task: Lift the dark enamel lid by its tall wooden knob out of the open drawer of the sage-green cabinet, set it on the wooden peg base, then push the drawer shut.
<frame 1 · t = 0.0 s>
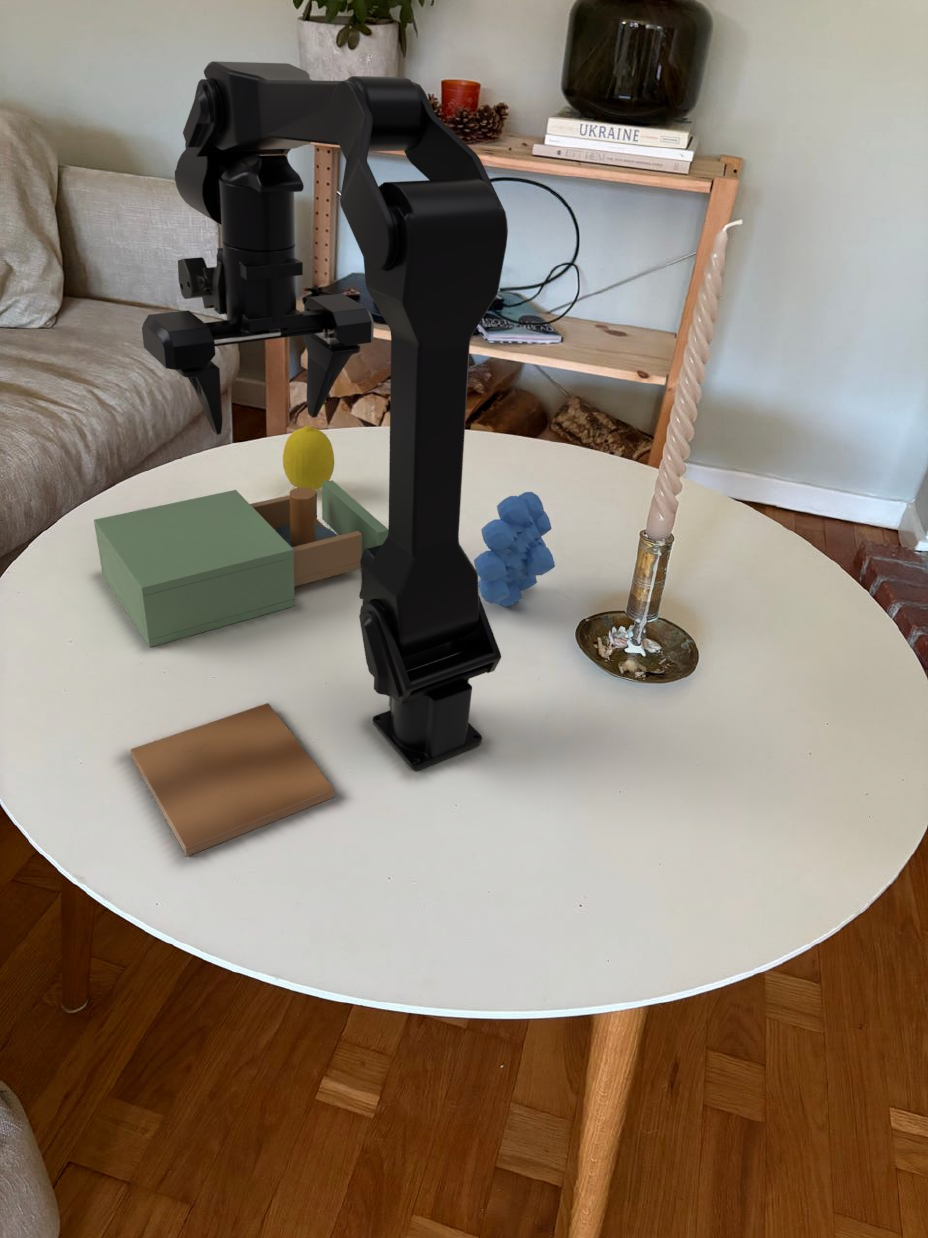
hand: (265, 424, 85), 15 cm above the table, tool pointing down, fingers open, 9 cm apart
drawer: (308, 535, 93), point 3 cm above the table, slide at 9.0 cm, touching pot lid
pot lid: (303, 546, 93), point 2 cm above the table, touching drawer
cabinet: (198, 591, 89), on the table
lemon: (309, 494, 107), on the table
wooden peg base: (231, 777, 70), on the table
grapes: (514, 609, 91), on the table
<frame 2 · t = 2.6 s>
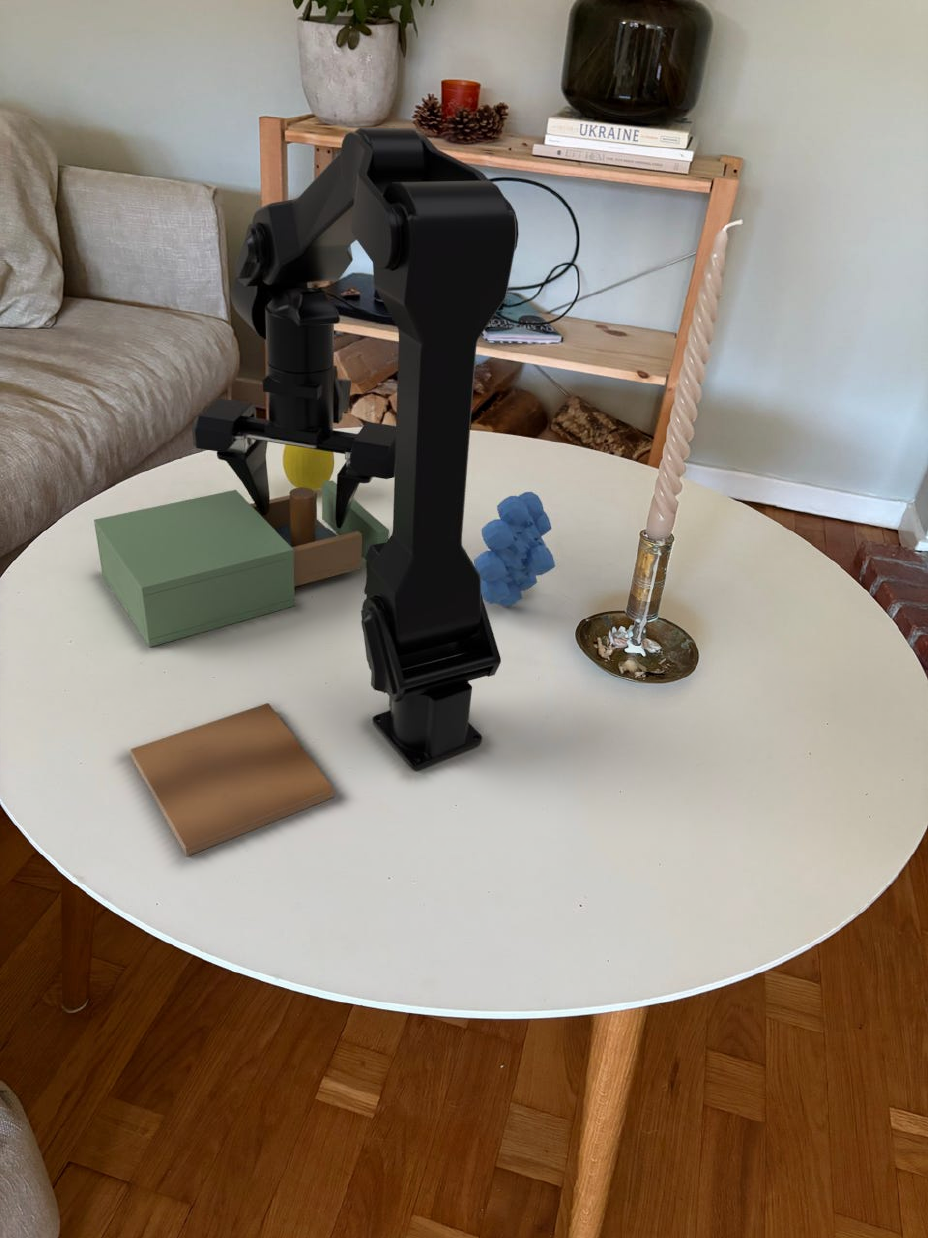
hand: (302, 519, 92), 5 cm above the table, tool pointing down, fingers open, 7 cm apart
nothing on the table moved.
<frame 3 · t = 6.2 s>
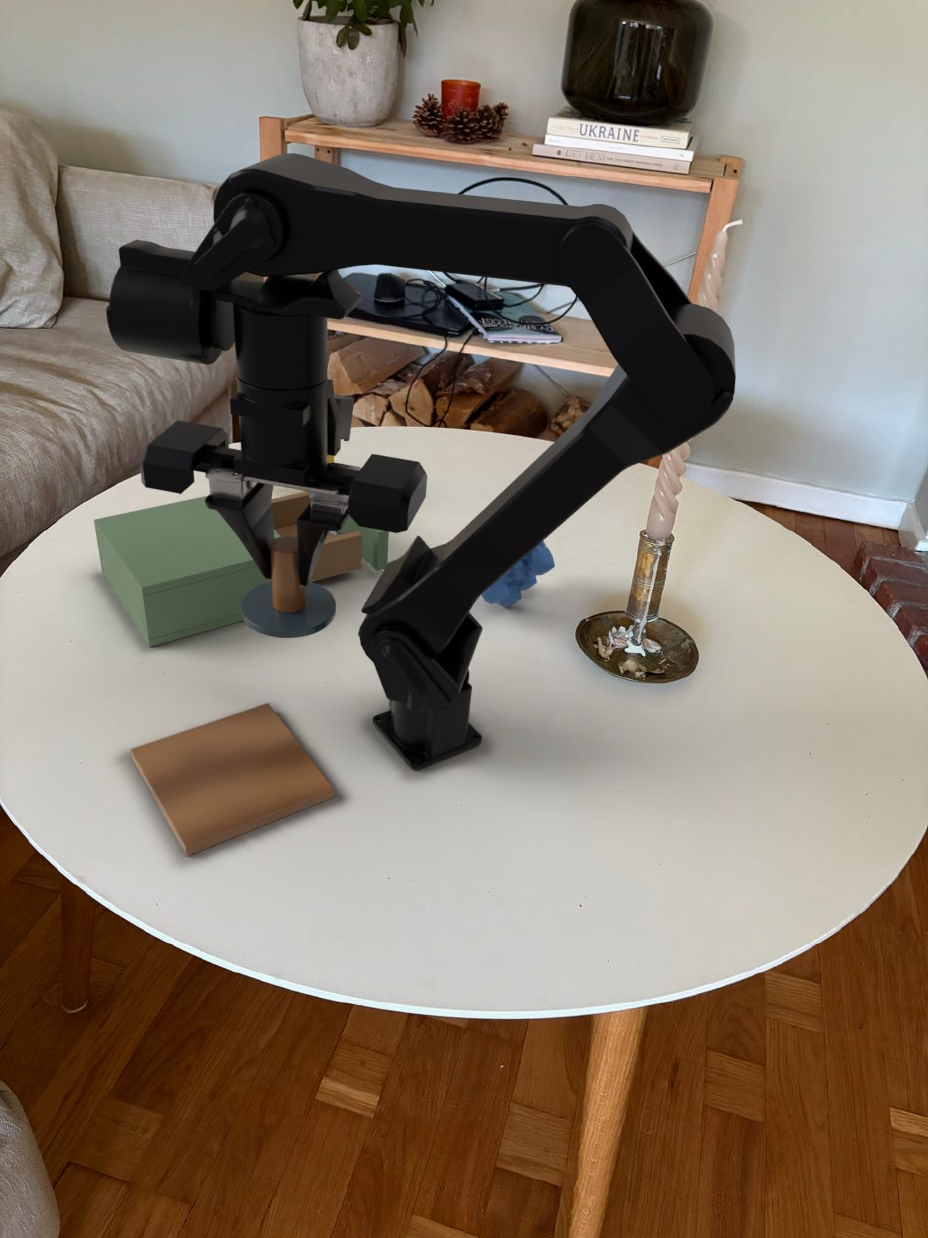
hand: (288, 579, 70), 12 cm above the table, tool pointing down, fingers closed on pot lid, 2 cm apart
drawer: (308, 535, 93), point 3 cm above the table, slide at 9.0 cm
pot lid: (288, 610, 72), point 9 cm above the table, touching gripper
everything else where it was.
when the fingers open (4 cm above the table, at t = 9.2 s): pot lid stays where it is, resting on wooden peg base.
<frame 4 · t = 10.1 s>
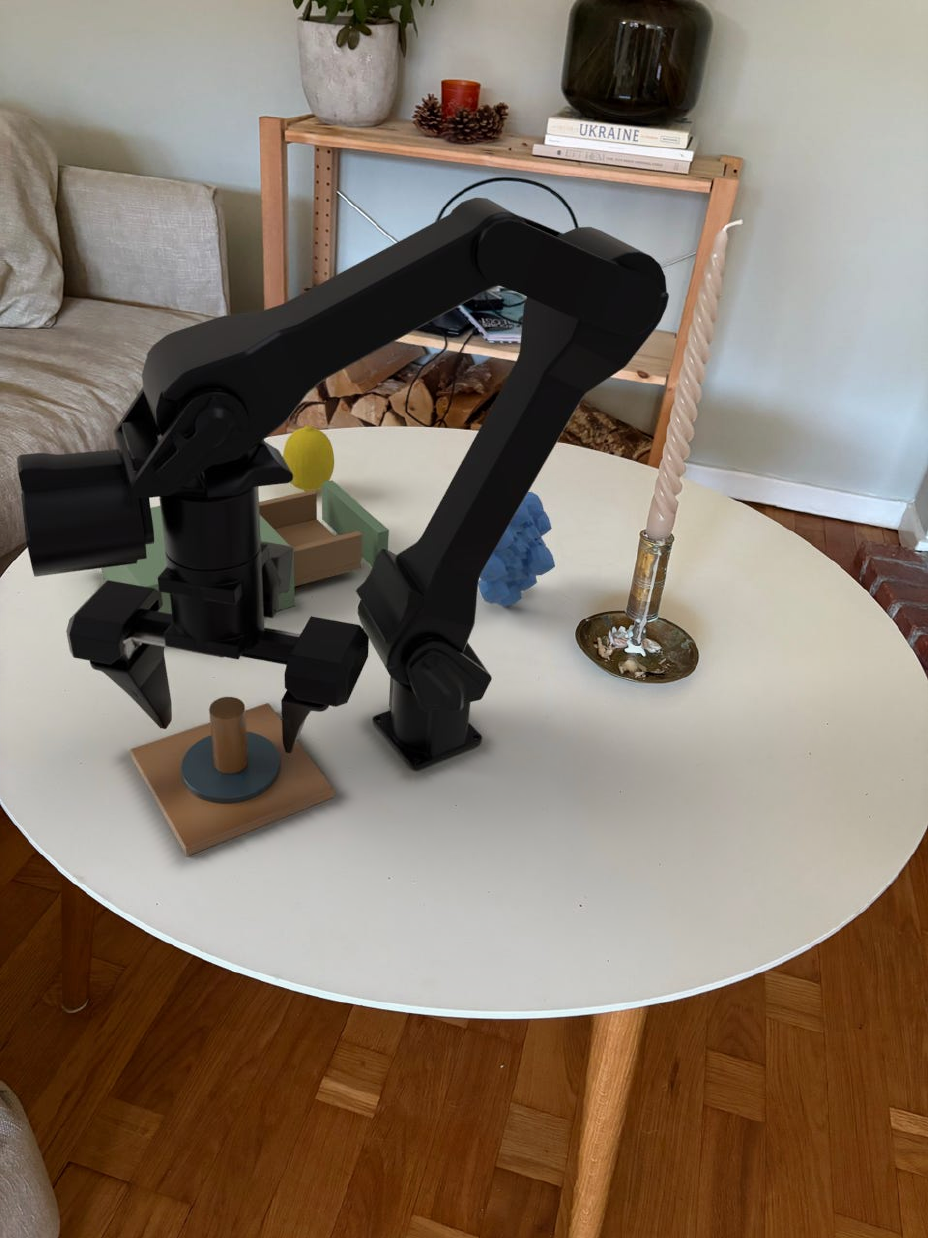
hand: (228, 736, 68), 4 cm above the table, tool pointing down, fingers open, 9 cm apart
pot lid: (231, 768, 69), point 1 cm above the table, touching wooden peg base
everything else where it was.
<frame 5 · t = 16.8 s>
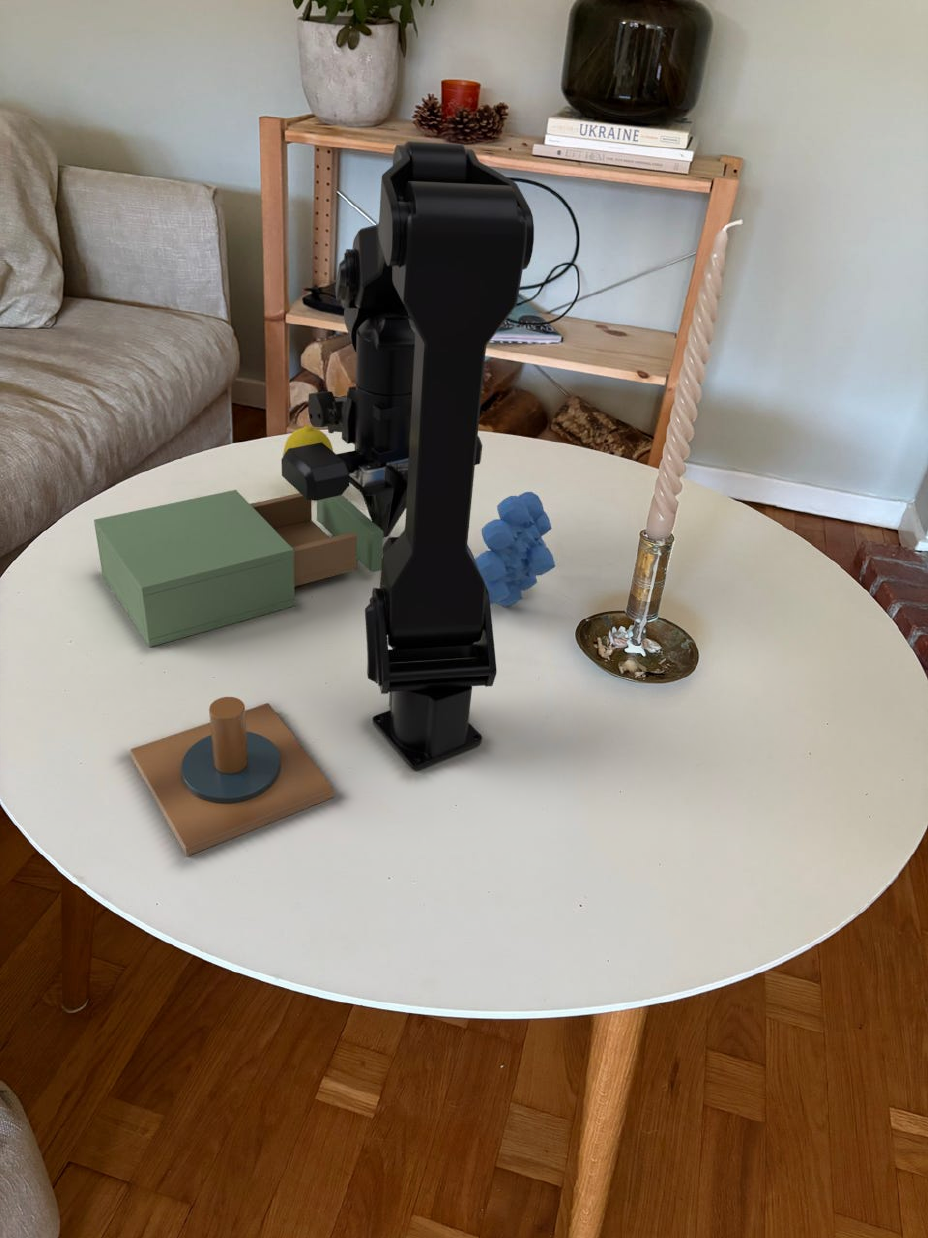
hand: (382, 535, 94), 3 cm above the table, tool pointing down, fingers closed
drawer: (302, 536, 93), point 3 cm above the table, slide at 8.4 cm, touching gripper
everything else where it was.
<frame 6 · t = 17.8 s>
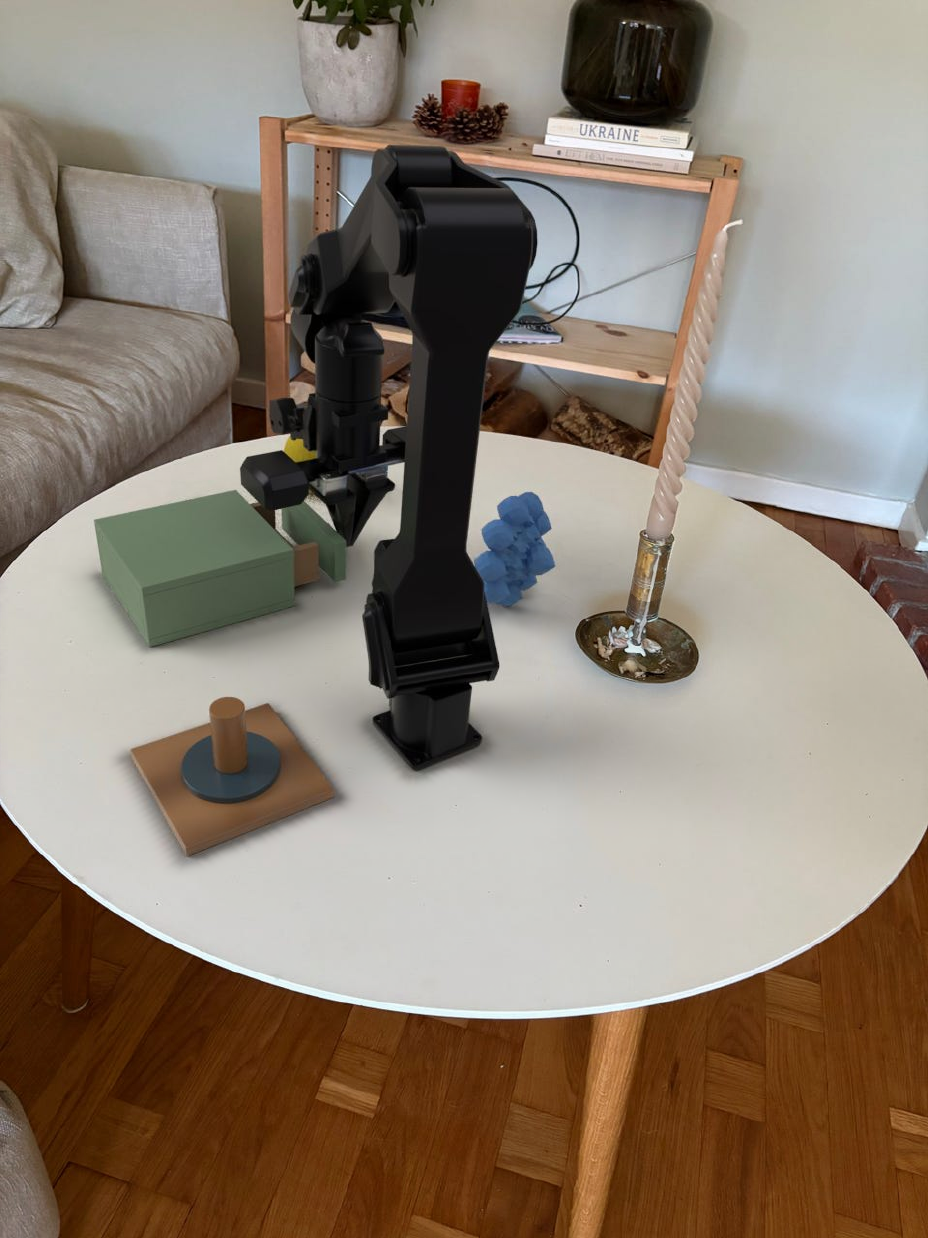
hand: (346, 544, 92), 3 cm above the table, tool pointing down, fingers closed
drawer: (264, 546, 91), point 3 cm above the table, slide at 4.4 cm, touching gripper
everything else where it was.
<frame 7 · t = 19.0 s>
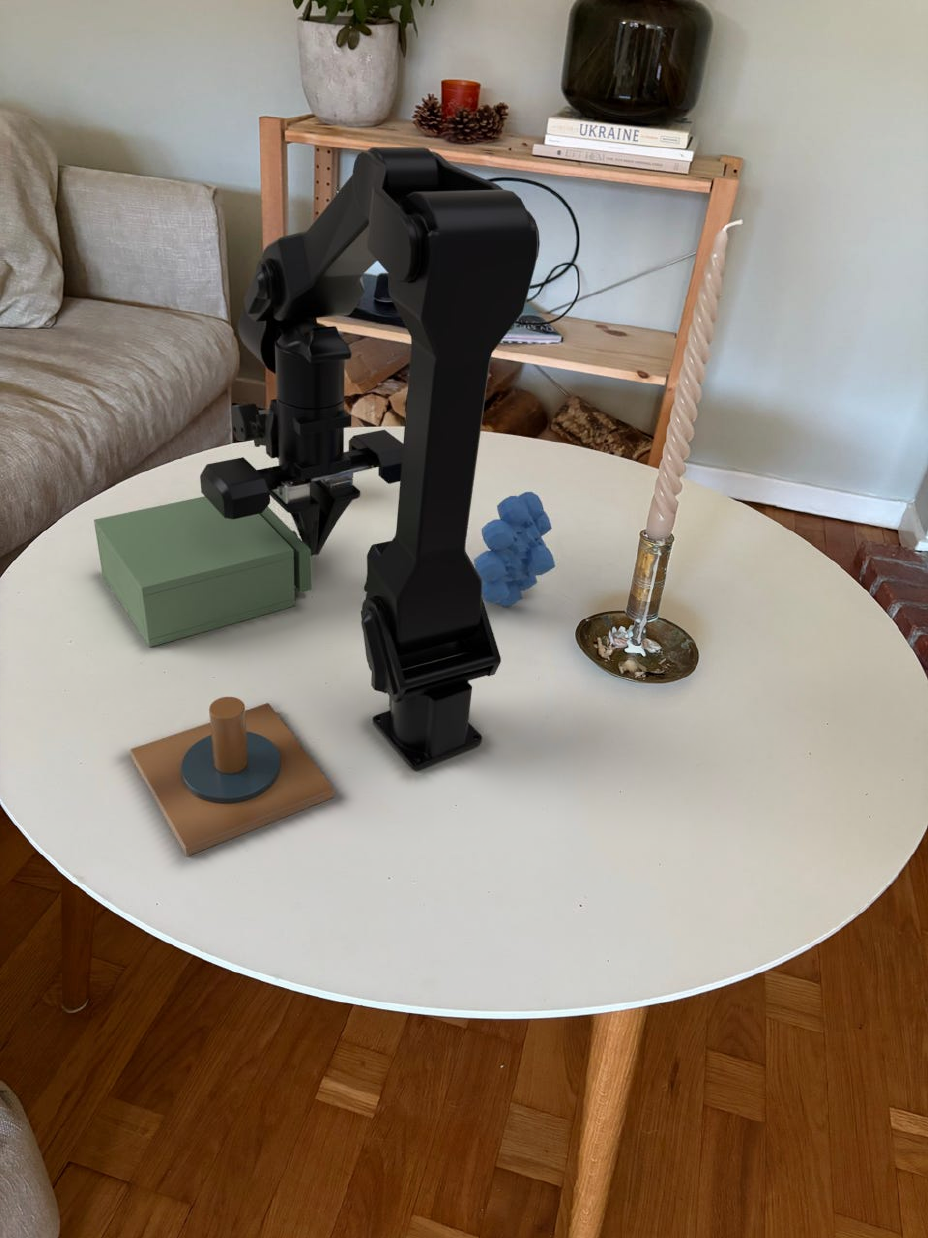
hand: (312, 553, 90), 3 cm above the table, tool pointing down, fingers closed
drawer: (228, 555, 89), point 3 cm above the table, slide at 0.8 cm, touching gripper
everything else where it was.
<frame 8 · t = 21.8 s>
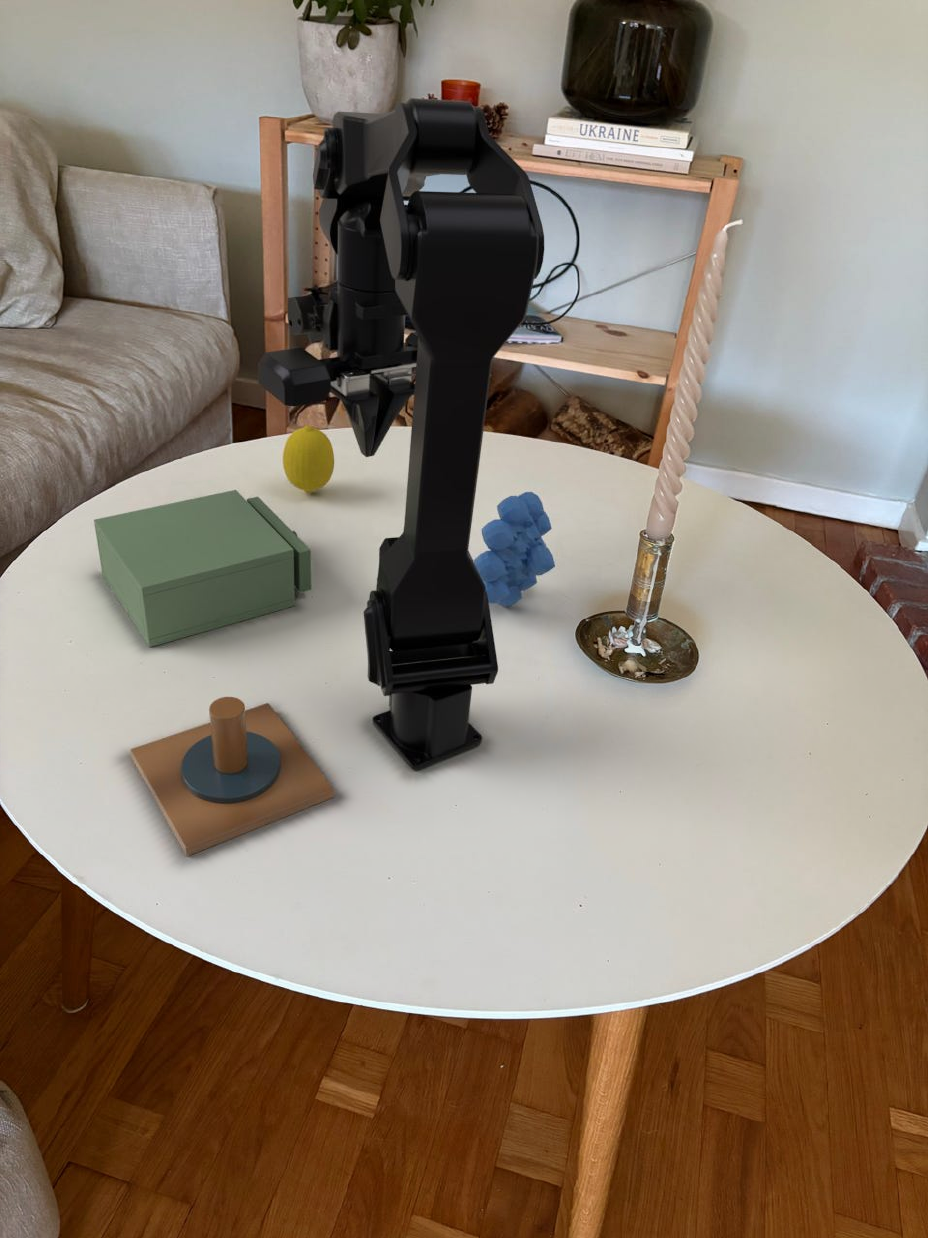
hand: (367, 454, 88), 12 cm above the table, tool pointing down, fingers closed
drawer: (228, 555, 89), point 3 cm above the table, slide at 0.8 cm
everything else where it was.
at the end: pot lid inside the target area on the wooden peg base (0.1 cm from its centre), point 0.8 cm above the wooden peg base's base; pot lid tilted 0°; drawer slide at 0.8 cm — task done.
